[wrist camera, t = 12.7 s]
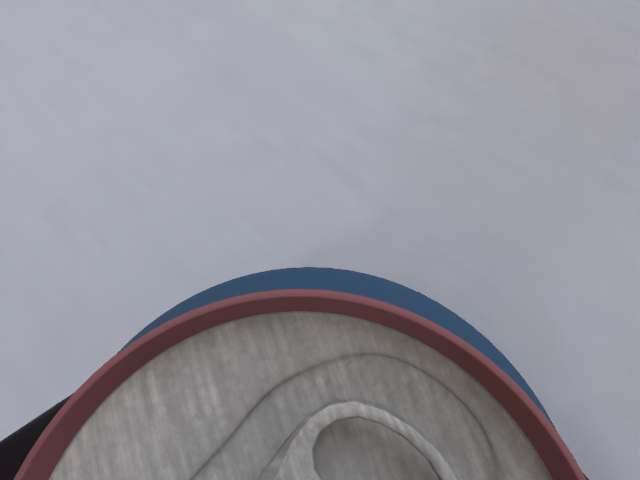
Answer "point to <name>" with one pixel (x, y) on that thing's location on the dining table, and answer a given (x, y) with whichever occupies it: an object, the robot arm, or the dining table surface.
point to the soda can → (304, 393)
